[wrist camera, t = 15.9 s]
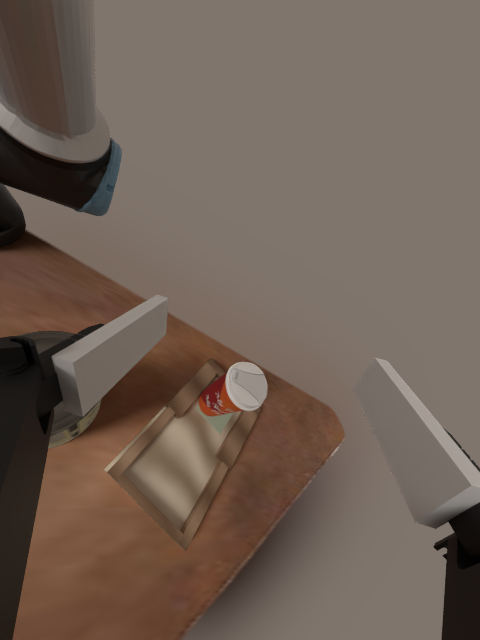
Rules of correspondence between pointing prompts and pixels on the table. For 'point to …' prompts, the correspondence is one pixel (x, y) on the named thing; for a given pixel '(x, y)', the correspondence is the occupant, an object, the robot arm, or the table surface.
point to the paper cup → (235, 391)
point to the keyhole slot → (181, 459)
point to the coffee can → (64, 422)
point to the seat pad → (216, 420)
